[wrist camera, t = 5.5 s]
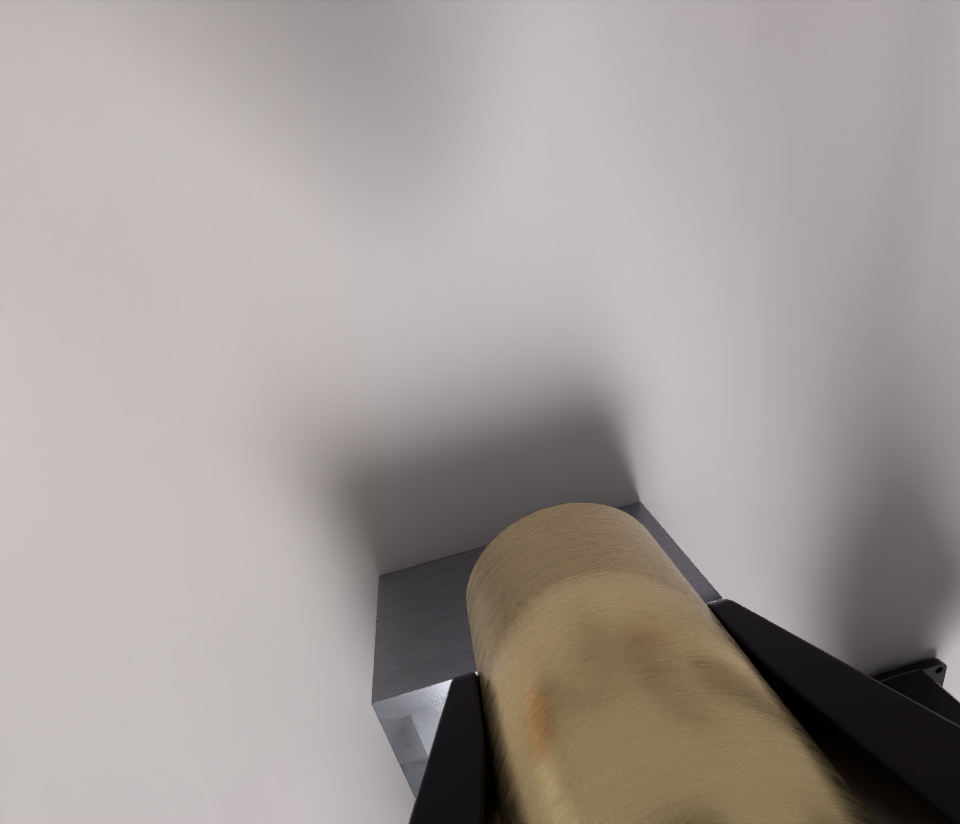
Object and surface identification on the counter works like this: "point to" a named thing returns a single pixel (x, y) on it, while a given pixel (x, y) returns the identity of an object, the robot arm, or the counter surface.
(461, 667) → the grey square box
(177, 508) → the counter surface
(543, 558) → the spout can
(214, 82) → the counter surface
